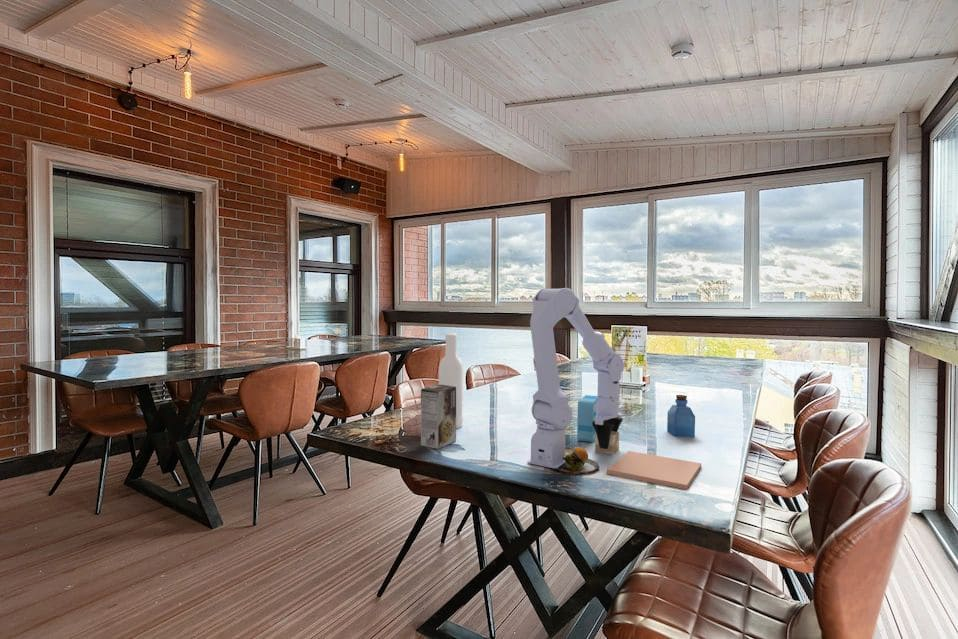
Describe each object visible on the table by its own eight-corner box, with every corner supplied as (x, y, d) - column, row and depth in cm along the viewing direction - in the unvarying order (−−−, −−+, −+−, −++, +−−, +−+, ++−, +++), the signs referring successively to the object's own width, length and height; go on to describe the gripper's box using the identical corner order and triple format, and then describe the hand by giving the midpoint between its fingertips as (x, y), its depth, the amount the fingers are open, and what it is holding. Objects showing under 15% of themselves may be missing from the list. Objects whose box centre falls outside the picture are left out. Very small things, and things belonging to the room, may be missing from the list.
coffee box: (438, 438, 149) (439, 383, 149) (456, 441, 146) (457, 386, 145) (419, 445, 141) (420, 388, 141) (438, 449, 138) (438, 390, 137)
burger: (564, 460, 133) (564, 432, 133) (606, 469, 126) (607, 440, 126) (541, 472, 123) (542, 442, 123) (586, 483, 116) (587, 451, 116)
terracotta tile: (686, 489, 110) (687, 485, 110) (606, 473, 120) (606, 469, 120) (701, 467, 125) (701, 463, 125) (628, 454, 135) (628, 450, 135)
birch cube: (613, 454, 135) (613, 436, 135) (595, 451, 138) (595, 433, 137) (618, 450, 139) (619, 432, 139) (601, 447, 142) (601, 429, 142)
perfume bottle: (694, 436, 154) (695, 397, 154) (674, 436, 154) (675, 397, 154) (686, 431, 160) (687, 394, 160) (667, 431, 160) (668, 393, 160)
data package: (592, 443, 145) (593, 402, 145) (576, 441, 147) (577, 401, 147) (600, 434, 156) (600, 395, 156) (585, 432, 158) (586, 394, 158)
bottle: (434, 428, 161) (435, 334, 160) (443, 422, 168) (444, 332, 167) (458, 430, 159) (459, 335, 158) (465, 424, 166) (466, 333, 165)
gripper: (614, 402, 130) (612, 454, 130) (630, 394, 142) (629, 442, 142) (587, 399, 133) (586, 450, 134) (606, 391, 146) (605, 438, 146)
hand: (607, 445), depth 138 cm, fingers closed on birch cube, 5 cm apart
